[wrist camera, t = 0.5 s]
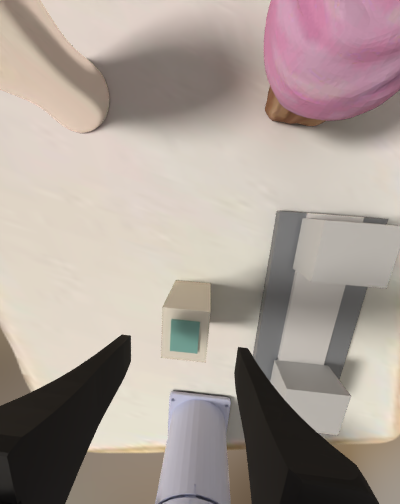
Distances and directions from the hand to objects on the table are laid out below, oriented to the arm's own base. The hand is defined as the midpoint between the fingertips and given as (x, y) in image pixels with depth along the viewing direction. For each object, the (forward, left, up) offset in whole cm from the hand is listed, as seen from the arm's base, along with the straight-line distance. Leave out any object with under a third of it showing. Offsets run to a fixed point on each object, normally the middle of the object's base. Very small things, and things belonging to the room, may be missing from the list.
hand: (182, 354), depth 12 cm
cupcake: (+20, -8, -10) cm, 23 cm away
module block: (-1, 0, -9) cm, 9 cm away
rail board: (-1, -13, -9) cm, 16 cm away
